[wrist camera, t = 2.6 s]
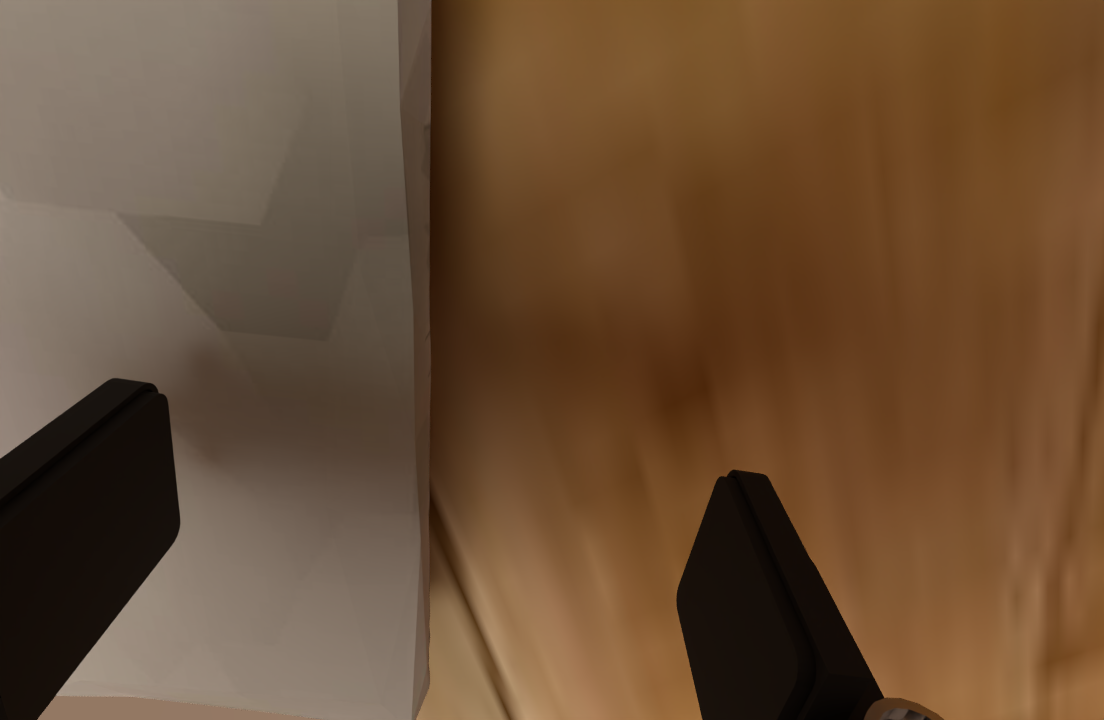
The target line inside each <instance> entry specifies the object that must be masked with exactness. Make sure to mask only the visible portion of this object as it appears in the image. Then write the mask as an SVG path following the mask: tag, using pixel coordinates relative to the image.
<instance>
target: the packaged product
mask: <svg viewBox="0 0 1104 720" xmlns="http://www.w3.org/2000/svg"><path fill="white" fill-rule="evenodd" d="M430 128H431V0H0V458H2V457H3V456H4V455H6V454H7V453H9V452H10V451H11V450H13V449H14V448H15V447H17V446H18V445H20V444H21V443H22V442H24V441H25V440H26V439H28V438H29V437H31V436H32V435H33V434H35V433H36V432H37V431H39V430H40V429H42V428H43V427H44V426H46V425H47V424H48V423H50V422H51V421H53V420H54V419H55V418H57V417H58V416H59V415H61V414H62V413H63V412H65V411H66V410H68V409H69V408H70V407H72V406H73V405H74V404H76V403H77V402H79V401H80V400H81V399H83V398H84V397H85V396H87V395H88V394H90V393H91V392H92V391H94V390H95V389H96V388H98V387H99V386H101V385H102V384H103V383H105V382H106V381H108V380H110V379H112V378H121V379H128V380H134V381H141V382H148V383H152V384H154V385H155V386H156V387H157V389H158V392H159V393H161V394H164V395H165V396H166V397H167V400H168V405H169V415H170V424H171V434H172V444H173V453H174V463H175V472H176V482H177V491H178V501H179V510H180V530H179V533H178V536H177V538H176V540H175V542H174V543H173V545H172V546H171V547H170V549H169V550H168V551H167V553H166V554H165V555H164V556H163V558H162V559H161V560H160V562H159V563H158V564H157V566H156V567H155V568H154V569H153V571H152V572H151V573H150V575H149V576H148V577H147V578H146V580H145V581H144V582H143V584H142V585H141V586H140V587H139V589H138V590H137V591H136V593H135V594H134V595H133V596H132V598H131V599H130V600H129V602H128V603H127V604H126V605H125V607H124V608H123V609H122V611H121V612H120V613H119V614H118V616H117V617H116V618H115V620H114V621H113V622H112V624H111V625H110V626H109V627H108V629H107V630H106V631H105V633H104V634H103V635H102V636H101V638H100V639H99V640H98V642H97V643H96V644H95V645H94V647H93V648H92V649H91V651H90V652H89V653H88V654H87V656H86V657H85V658H84V660H83V661H82V662H81V663H80V665H79V666H78V667H77V669H76V670H75V671H74V672H73V674H72V675H71V676H70V678H69V679H68V680H67V682H66V683H65V684H64V685H63V687H62V688H61V689H60V691H59V692H58V693H57V694H56V696H130V697H131V696H132V697H141V698H149V699H159V700H167V701H175V702H184V703H192V704H201V705H210V706H218V707H227V708H235V709H244V710H252V711H261V712H269V713H278V714H286V715H294V716H301V717H308V718H316V719H324V720H416V718H417V715H418V713H419V711H420V708H421V706H422V704H423V701H424V699H425V696H426V694H427V692H428V689H429V684H430V671H429V643H430V629H429V621H430V600H429V587H430V544H429V502H430V491H429V465H430V396H431V341H430V313H429V310H430V298H429V285H430Z"/></svg>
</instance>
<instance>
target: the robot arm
mask: <svg viewBox="0 0 1104 720" xmlns="http://www.w3.org/2000/svg"><path fill="white" fill-rule="evenodd" d="M179 530H180V510H179V501H178V491H177V482H176V472H175V463H174V453H173V444H172V434H171V424H170V415H169V405H168V400H167V397H166V396H165V395H164V394H161V393H159V392H158V389H157V387H156V386H155V385H154V384H152V383H148V382H141V381H134V380H128V379H121V378H112V379H110V380H108V381H106V382H105V383H103V384H102V385H101V386H99V387H98V388H96V389H95V390H94V391H92V392H91V393H90V394H88V395H87V396H85V397H84V398H83V399H81V400H80V401H79V402H77V403H76V404H74V405H73V406H72V407H70V408H69V409H68V410H66V411H65V412H63V413H62V414H61V415H59V416H58V417H57V418H55V419H54V420H53V421H51V422H50V423H48V424H47V425H46V426H44V427H43V428H42V429H40V430H39V431H37V432H36V433H35V434H33V435H32V436H31V437H29V438H28V439H26V440H25V441H24V442H22V443H21V444H20V445H18V446H17V447H15V448H14V449H13V450H11V451H10V452H9V453H7V454H6V455H4V456H3V457H2V458H0V720H37V719H38V717H39V716H40V715H41V714H42V712H43V711H44V710H45V709H46V707H47V706H48V705H49V703H50V702H51V701H52V700H53V698H54V697H55V696H56V694H57V693H58V692H59V691H60V689H61V688H62V687H63V685H64V684H65V683H66V682H67V680H68V679H69V678H70V676H71V675H72V674H73V672H74V671H75V670H76V669H77V667H78V666H79V665H80V663H81V662H82V661H83V660H84V658H85V657H86V656H87V654H88V653H89V652H90V651H91V649H92V648H93V647H94V645H95V644H96V643H97V642H98V640H99V639H100V638H101V636H102V635H103V634H104V633H105V631H106V630H107V629H108V627H109V626H110V625H111V624H112V622H113V621H114V620H115V618H116V617H117V616H118V614H119V613H120V612H121V611H122V609H123V608H124V607H125V605H126V604H127V603H128V602H129V600H130V599H131V598H132V596H133V595H134V594H135V593H136V591H137V590H138V589H139V587H140V586H141V585H142V584H143V582H144V581H145V580H146V578H147V577H148V576H149V575H150V573H151V572H152V571H153V569H154V568H155V567H156V566H157V564H158V563H159V562H160V560H161V559H162V558H163V556H164V555H165V554H166V553H167V551H168V550H169V549H170V547H171V546H172V545H173V543H174V542H175V540H176V538H177V536H178V533H179ZM677 610H678V615H679V619H680V624H681V628H682V632H683V637H684V641H685V645H686V650H687V654H688V658H689V663H690V667H691V671H692V676H693V680H694V685H695V689H696V693H697V698H698V702H699V706H700V711H701V715H702V719H703V720H944V719H943V718H942V717H940V716H939V715H938V714H937V713H935V712H933V711H931V710H929V709H927V708H925V707H924V706H922V705H920V704H918V703H915V702H911V701H908V700H905V699H902V698H884V696H883V694H882V692H881V691H880V689H879V687H878V685H877V683H876V681H875V679H874V677H873V675H872V673H871V671H870V669H869V667H868V666H867V664H866V662H865V660H864V658H863V656H862V654H861V652H860V650H859V648H858V646H857V644H856V643H855V641H854V639H853V637H852V635H851V633H850V631H849V629H848V627H847V625H846V623H845V621H844V620H843V618H842V616H841V614H840V612H839V610H838V608H837V606H836V604H835V602H834V600H833V598H832V596H831V595H830V593H829V591H828V589H827V587H826V585H825V583H824V581H823V579H822V577H821V575H820V573H819V572H818V570H817V568H816V566H815V565H814V563H813V562H812V560H811V559H810V557H809V555H808V554H807V552H806V550H805V548H804V546H803V544H802V542H801V540H800V538H799V536H798V534H797V532H796V530H795V528H794V527H793V525H792V523H791V521H790V519H789V517H788V515H787V513H786V511H785V509H784V507H783V505H782V503H781V501H780V499H779V498H778V496H777V494H776V492H775V490H774V488H773V486H772V484H771V482H770V480H769V478H768V477H767V476H766V475H764V474H759V473H753V472H746V471H739V470H732V471H730V472H729V474H728V475H727V477H723V476H721V477H719V478H718V479H717V481H716V484H715V486H714V489H713V492H712V495H711V497H710V500H709V503H708V506H707V509H706V511H705V514H704V517H703V520H702V522H701V525H700V528H699V531H698V534H697V536H696V539H695V542H694V545H693V547H692V550H691V553H690V556H689V559H688V561H687V564H686V567H685V570H684V572H683V575H682V578H681V581H680V584H679V587H678V590H677Z"/></svg>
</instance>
